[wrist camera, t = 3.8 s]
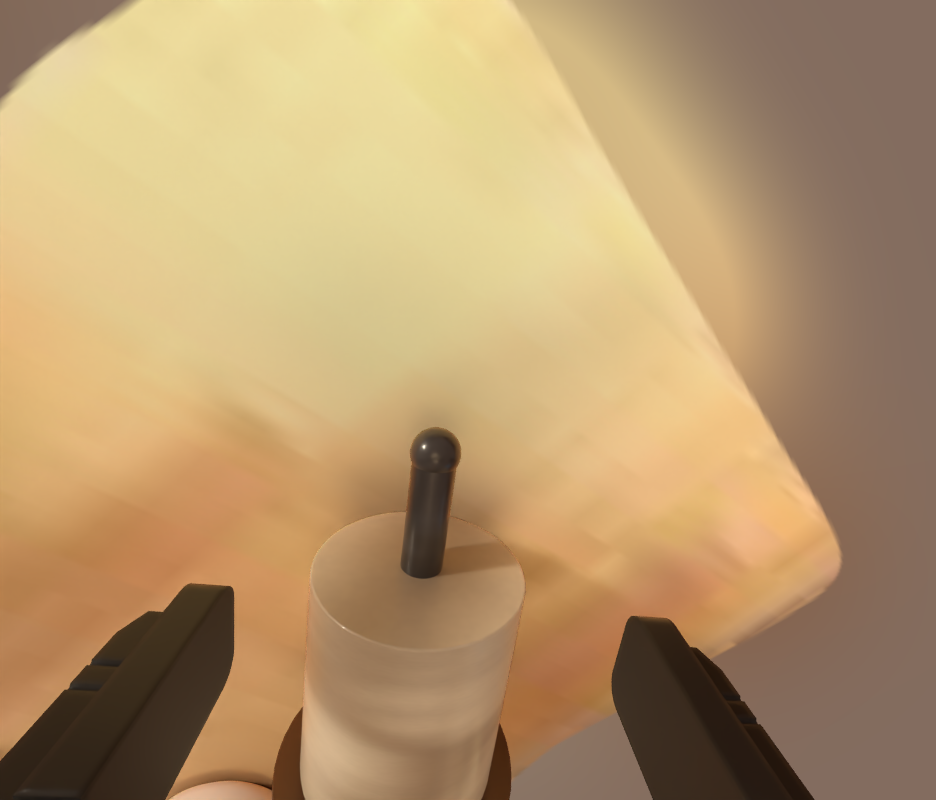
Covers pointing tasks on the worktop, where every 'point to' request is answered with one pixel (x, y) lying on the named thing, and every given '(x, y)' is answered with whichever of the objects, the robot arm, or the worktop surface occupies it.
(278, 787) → the towel holder
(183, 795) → the vodka
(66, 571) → the worktop surface
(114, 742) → the robot arm
